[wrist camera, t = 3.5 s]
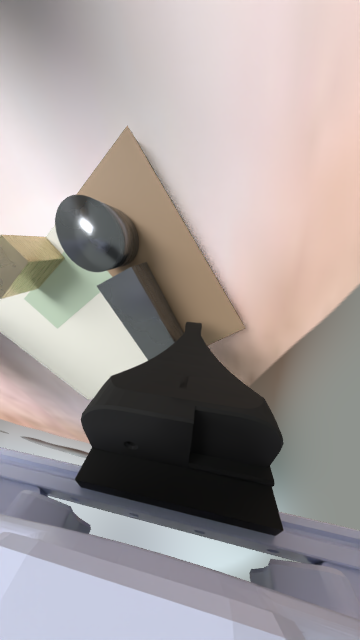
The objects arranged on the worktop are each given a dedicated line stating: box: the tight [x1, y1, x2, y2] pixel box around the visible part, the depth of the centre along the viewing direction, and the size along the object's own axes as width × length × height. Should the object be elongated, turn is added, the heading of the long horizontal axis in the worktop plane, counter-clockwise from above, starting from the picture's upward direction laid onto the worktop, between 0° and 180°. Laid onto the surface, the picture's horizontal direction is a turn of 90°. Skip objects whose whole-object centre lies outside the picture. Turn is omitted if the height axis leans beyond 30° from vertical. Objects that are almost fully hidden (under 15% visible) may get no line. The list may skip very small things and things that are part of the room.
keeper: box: [0, 235, 65, 299], centre depth 10 cm, size 4×2×2 cm, turn 125°
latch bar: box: [55, 195, 184, 360], centre depth 9 cm, size 12×3×3 cm, turn 26°
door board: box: [0, 126, 245, 400], centre depth 13 cm, size 20×13×1 cm, turn 125°
